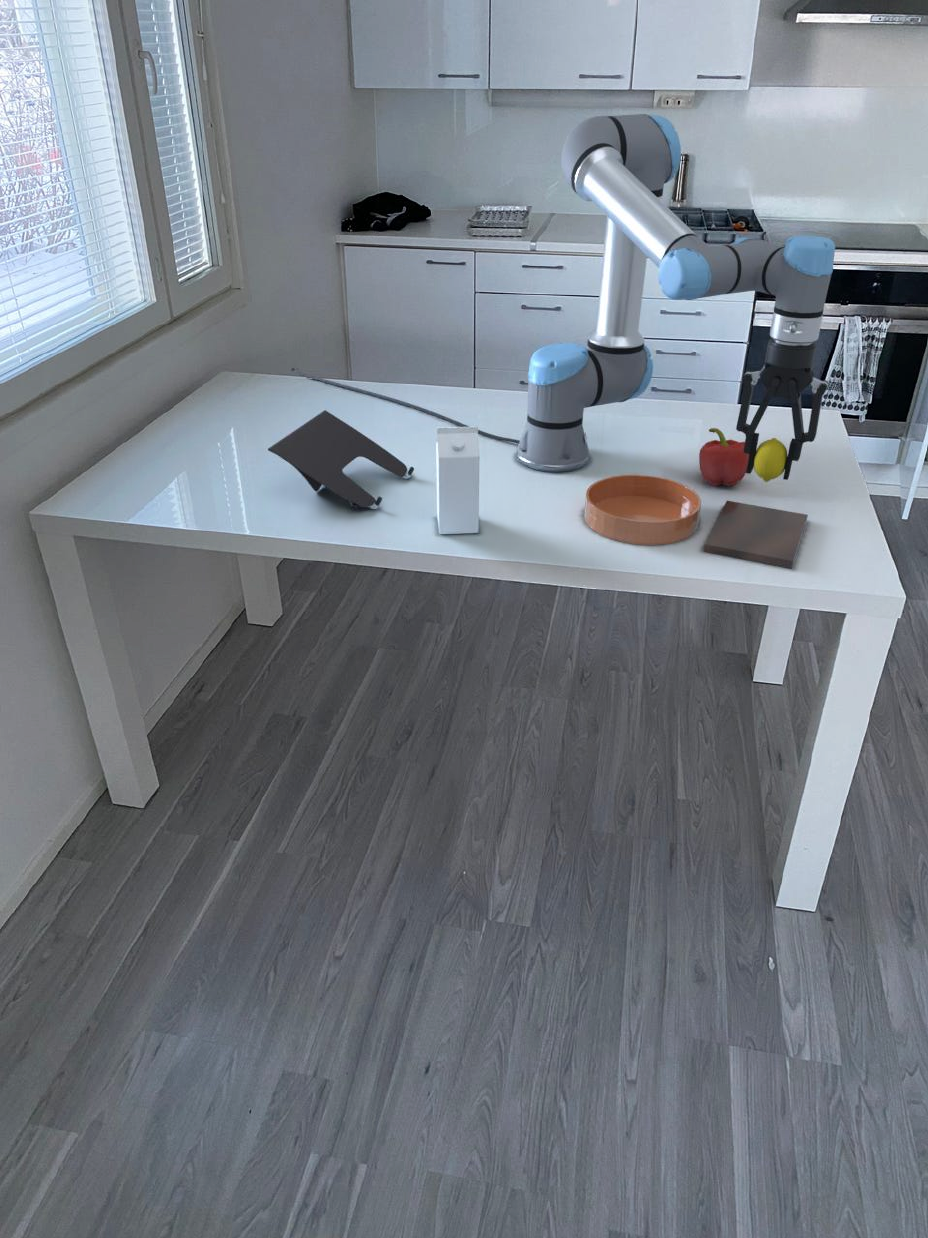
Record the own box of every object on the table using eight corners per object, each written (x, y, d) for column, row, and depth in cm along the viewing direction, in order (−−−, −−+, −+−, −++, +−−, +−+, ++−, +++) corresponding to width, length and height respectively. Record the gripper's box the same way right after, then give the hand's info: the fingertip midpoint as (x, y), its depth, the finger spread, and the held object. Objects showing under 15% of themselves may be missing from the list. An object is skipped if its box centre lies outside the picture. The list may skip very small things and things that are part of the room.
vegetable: (682, 475, 193) (689, 429, 188) (724, 468, 197) (731, 422, 191) (714, 495, 185) (722, 447, 179) (757, 487, 188) (766, 440, 183)
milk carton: (437, 518, 175) (435, 420, 165) (474, 516, 176) (476, 419, 166) (439, 535, 169) (438, 435, 159) (478, 533, 170) (479, 434, 160)
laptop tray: (356, 542, 179) (373, 506, 174) (256, 477, 180) (271, 439, 174) (404, 495, 198) (421, 462, 192) (313, 436, 198) (328, 401, 193)
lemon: (784, 489, 161) (792, 445, 157) (750, 486, 162) (758, 442, 158) (781, 476, 166) (789, 433, 162) (749, 474, 167) (756, 431, 162)
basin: (569, 531, 171) (570, 509, 168) (603, 488, 187) (605, 467, 185) (683, 554, 164) (686, 531, 161) (708, 507, 180) (711, 485, 178)
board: (703, 551, 164) (704, 543, 164) (725, 507, 180) (726, 500, 179) (791, 568, 159) (793, 561, 159) (806, 521, 175) (808, 514, 174)
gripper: (730, 338, 151) (710, 472, 164) (851, 352, 145) (820, 491, 157) (738, 327, 157) (718, 457, 169) (855, 340, 151) (825, 474, 163)
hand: (767, 473), depth 163 cm, fingers closed on lemon, 6 cm apart
